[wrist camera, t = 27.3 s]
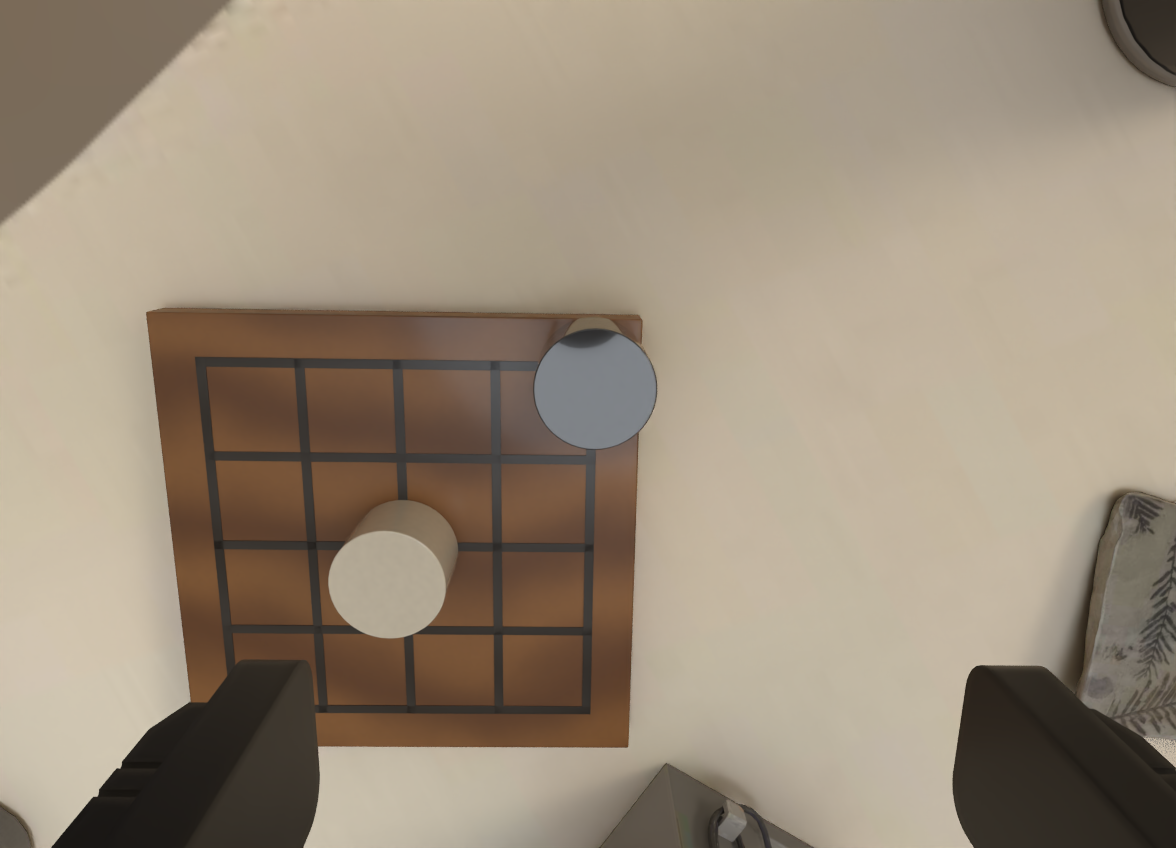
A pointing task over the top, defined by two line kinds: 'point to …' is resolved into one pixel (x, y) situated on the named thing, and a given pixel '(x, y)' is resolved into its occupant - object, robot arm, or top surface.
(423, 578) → the ivory stone
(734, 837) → the portable television
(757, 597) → the top surface
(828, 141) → the top surface
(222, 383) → the board
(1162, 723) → the fossil rock
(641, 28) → the top surface
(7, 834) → the flask
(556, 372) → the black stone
